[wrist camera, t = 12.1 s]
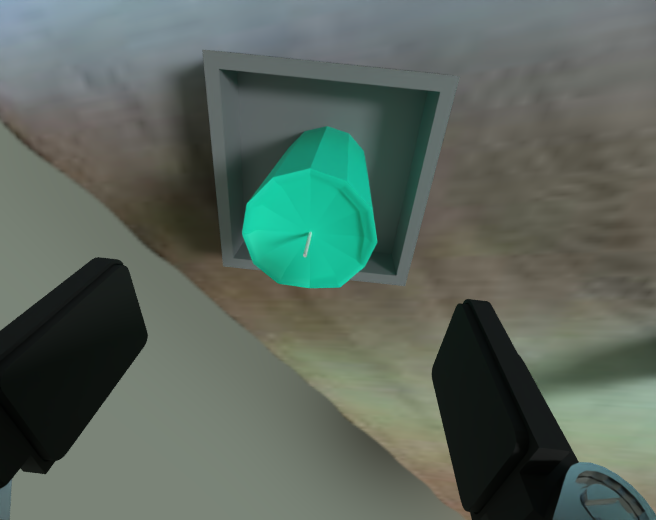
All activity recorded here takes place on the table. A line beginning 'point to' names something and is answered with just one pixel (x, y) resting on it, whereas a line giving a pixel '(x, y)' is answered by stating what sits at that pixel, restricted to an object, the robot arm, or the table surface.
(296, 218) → the candle
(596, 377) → the table surface
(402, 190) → the box
